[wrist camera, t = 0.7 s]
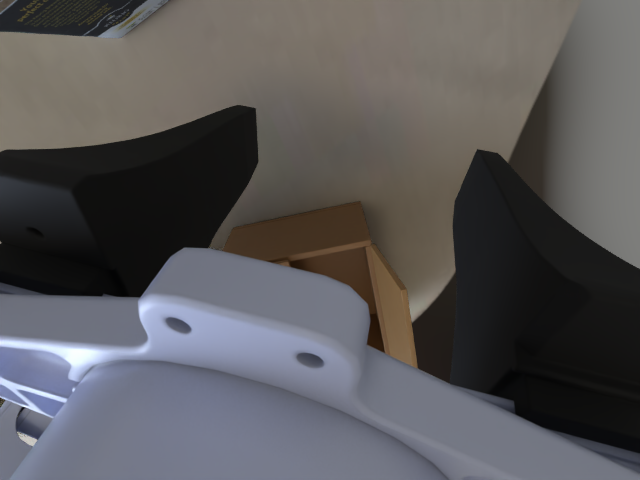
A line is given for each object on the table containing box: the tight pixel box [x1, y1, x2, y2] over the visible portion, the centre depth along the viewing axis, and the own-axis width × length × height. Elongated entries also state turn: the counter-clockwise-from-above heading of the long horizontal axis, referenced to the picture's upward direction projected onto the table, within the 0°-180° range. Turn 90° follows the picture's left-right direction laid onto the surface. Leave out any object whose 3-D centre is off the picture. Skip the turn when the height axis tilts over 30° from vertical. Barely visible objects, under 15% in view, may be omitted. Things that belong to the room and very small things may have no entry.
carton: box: [223, 201, 390, 355], centre depth 33 cm, size 12×13×8 cm
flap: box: [370, 244, 418, 369], centre depth 26 cm, size 6×13×1 cm
